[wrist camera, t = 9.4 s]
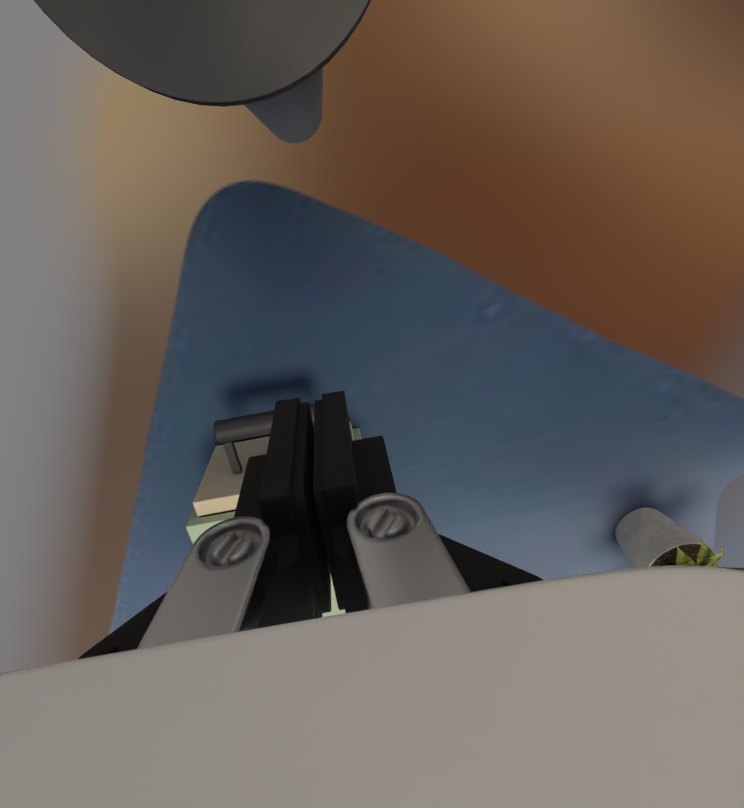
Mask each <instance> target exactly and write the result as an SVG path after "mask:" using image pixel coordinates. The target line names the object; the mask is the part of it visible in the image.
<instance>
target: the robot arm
mask: <svg viewBox="0 0 744 808" xmlns="http://www.w3.org/2000/svg"><path fill="white" fill-rule="evenodd" d="M331 577H332V582H333V587H334V591H335V596H336V600H337V605H338V609H339V610H344V609H345V612H346V613H345V614H339V615H333V616H327V617H322V613H327V612H331ZM0 808H744V571H743V570H735V569H727V568H719V567H711V566H676V565H669V566H652V567H635V568H627V569H619V570H612V571H604V572H597V573H589V574H582V575H574V576H567V577H560V578H554V579H548V580H543V579H541V578H539V577H537V576H535V575H533V574H531V573H528V572H526V571H524V570H521V569H519V568H517V567H514V566H512V565H510V564H507V563H505V562H503V561H500V560H498V559H496V558H493V557H491V556H489V555H486V554H484V553H482V552H479V551H477V550H475V549H472V548H470V547H468V546H465V545H463V544H461V543H458V542H456V541H454V540H451V539H449V538H447V537H444V536H442V535H440V534H438V533H437V531H436V530H435V528H434V526H433V524H432V523H431V521H430V519H429V517H428V516H427V514H426V512H425V510H424V508H423V507H422V506H421V505H420V503H419V502H418V501H417V500H415V499H413V498H411V497H410V496H407V495H403V494H399V493H396V489H395V485H394V480H393V476H392V472H391V468H390V464H389V460H388V456H387V451H386V447H385V443H384V439H383V436H378V437H372V438H365V439H359V440H353V441H352V435H351V429H350V423H349V417H348V411H347V405H346V399H345V393H344V391H339V392H332V393H326V394H322V400H318V401H315V408H314V426H313V421H312V416H311V411H310V407H309V403H308V402H305V403H301V402H300V399H299V398H294V399H287V400H281V401H276V405H275V410H274V416H273V421H272V426H271V432H270V437H269V443H268V448H267V453H266V454H264V455H258V456H251V457H249V459H248V462H247V466H246V470H245V474H244V478H243V482H242V486H241V490H240V494H239V498H238V502H237V506H236V511H235V515H234V518H230V519H227V520H224V521H221V522H219V523H217V524H215V525H213V526H212V527H210V528H208V529H207V530H206V531H205V532H203V533H202V534H201V535H200V536H199V537H198V538H197V539H196V541H195V542H194V544H193V545H192V547H191V549H190V550H189V552H188V554H187V556H186V558H185V560H184V562H183V564H182V565H181V567H180V569H179V571H178V573H177V575H176V577H175V579H174V580H173V582H172V584H171V586H170V588H169V590H168V592H166V593H165V594H163V595H162V596H161V597H159V598H158V599H157V600H155V601H154V602H153V603H151V604H150V605H149V606H147V607H146V608H145V609H143V610H142V611H141V612H139V613H138V614H137V615H135V616H134V617H133V618H131V619H130V620H128V621H127V622H126V623H124V624H123V625H122V626H120V627H119V628H118V629H116V630H115V631H114V632H112V633H111V634H110V635H108V636H107V637H106V638H104V639H103V640H102V641H100V642H99V643H97V644H96V645H95V646H93V647H92V648H91V649H89V650H88V651H87V652H85V653H84V654H83V655H82V656H81V657H80V658H79V659H77V660H72V661H66V662H60V663H55V664H49V665H43V666H38V667H32V668H26V669H21V670H15V671H9V672H4V673H0Z"/></svg>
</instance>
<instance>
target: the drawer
mask: <svg viewBox="0 0 744 808" xmlns="http://www.w3.org/2000/svg"><path fill="white" fill-rule="evenodd" d="M309 407H310V411H311V416H312V421H313V426H314V408H315V406H314V404H309ZM273 416H274V411H269V412H263V413H258V414H252V415H247V416H241V417H235V418H230V419H224V420H219V421H216V422H215V423H214V433H215V437H216V440H217V441H218V443H223V445H219V446H215V448H214V451H213V453H212V456H211V458H210V461H209V463H208V466H207V468H206V471H205V473H204V476H203V478H202V481H201V483H200V486H199V488H198V491H197V493H196V496H195V498H194V501H193V506H194V508H195V511H196V513H197V516H202V515H208V514H213V513H218V514H223V513H229V512H234V511H236V506H237V502H238V498H239V494H240V490H241V486H242V482H243V478H244V474H245V470H246V466H247V462H248V459H249V457H251V456H258V455H264V454H266V453H267V448H268V443H269V437H270V436H269V437H263V438H258V439H252V440H246V441H241V442H235V443H234V441H236V440H241V439H247V438H252V437H258V436H263V435H269V434H270V432H271V426H272V421H273ZM349 423H350V429H351V435H352V441H353V440H354V436H353V430H352V425H351V422H349Z"/></svg>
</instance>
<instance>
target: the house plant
mask: <svg viewBox="0 0 744 808" xmlns="http://www.w3.org/2000/svg"><path fill="white" fill-rule="evenodd" d="M615 538H616V540H617V542H618V544H619V546H620V547H621V549H622V551H623V553H624V555H625V557H626V558H627V560H628V562H629V564H630V566H631V567H632V568H635V567H652V566H669V565H676V566H711V567H717V565H718V561H719V560H720V558H721V556H722V554H723V549H721V551H720V553H719V554H718V556H717V554H716V552H715V550H714V549H713V548H712V547H711V546H710V545H708V544H707V543H705V542H704V541H702V539H701V538H700V539H699V538H698V537H697V536H695V535H694V534H692V533H691V532H689V531H688V530H686V529H685V528H683V527H682V526H680V525H679V524H677V523H676V522H674V521H673V520H671V519H670V518H669V517H667V516H666V515H664V514H663V513H661V512H660V511H658V510H656V509H654V508H647V507H646V508H639V509H636V510H634V511H632V512H630V513H628V514H627V515H626V516H624V517H623V518H622V519H621V520H620V522H619V523H618V525H617V527H616V530H615ZM719 568H725V567H719ZM727 569H735V570H743V571H744V568H727Z"/></svg>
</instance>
